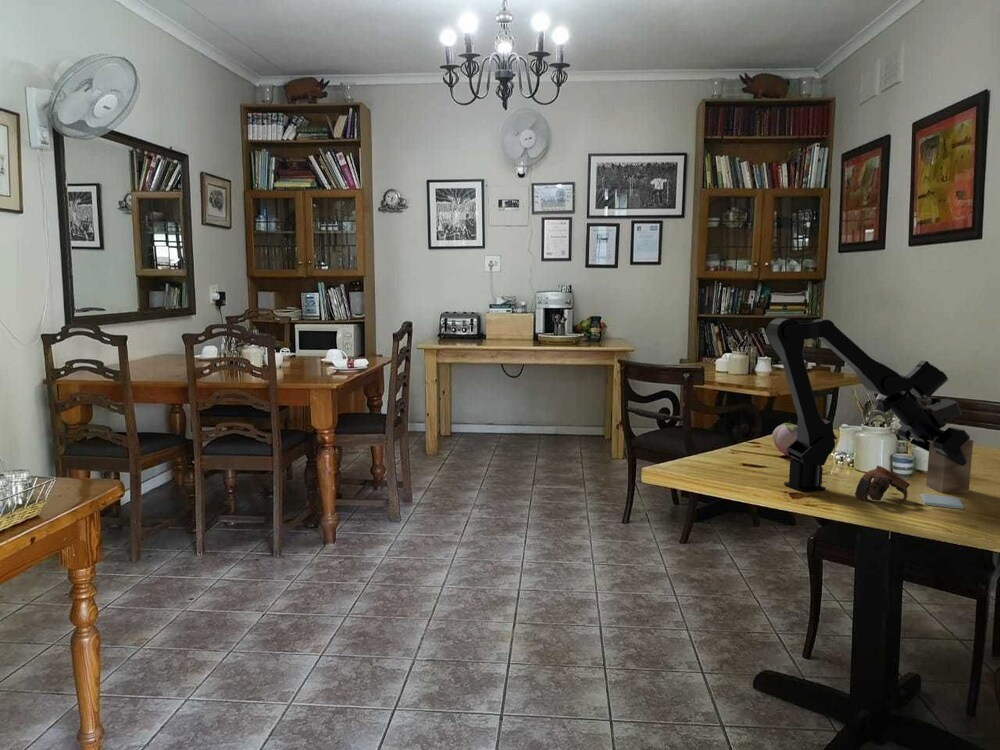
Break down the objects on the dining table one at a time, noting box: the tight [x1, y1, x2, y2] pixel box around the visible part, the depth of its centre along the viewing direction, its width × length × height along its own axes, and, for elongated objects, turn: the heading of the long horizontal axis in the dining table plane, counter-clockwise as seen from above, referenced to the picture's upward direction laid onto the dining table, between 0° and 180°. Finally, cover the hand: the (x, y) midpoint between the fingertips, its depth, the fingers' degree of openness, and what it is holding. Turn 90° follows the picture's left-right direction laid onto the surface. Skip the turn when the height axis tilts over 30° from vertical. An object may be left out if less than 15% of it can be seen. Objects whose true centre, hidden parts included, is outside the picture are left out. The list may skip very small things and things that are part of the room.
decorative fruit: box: [771, 420, 797, 457], centre depth 196 cm, size 9×8×10 cm
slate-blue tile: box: [920, 493, 964, 510], centre depth 154 cm, size 7×7×1 cm
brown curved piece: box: [854, 465, 911, 504], centre depth 154 cm, size 12×10×8 cm
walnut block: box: [925, 439, 974, 494], centre depth 164 cm, size 6×6×12 cm
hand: (955, 460), depth 164 cm, fingers closed on walnut block, 6 cm apart
